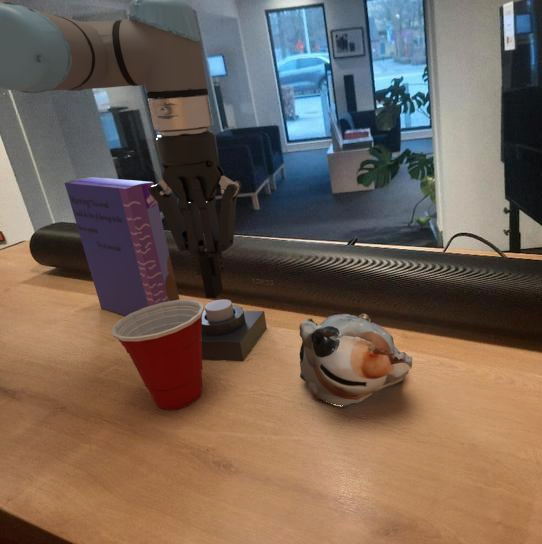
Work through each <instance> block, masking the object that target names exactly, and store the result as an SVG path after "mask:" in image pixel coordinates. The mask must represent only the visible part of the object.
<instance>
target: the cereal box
mask: <svg viewBox="0 0 542 544" xmlns="http://www.w3.org/2000/svg"><path fill="white" fill-rule="evenodd" d="M154 185H155V184H154V182H153V181H147V180H146V181H143V180H132V179H119V178H107V177H98V176H97V177H96V176H89V177H81V178H75V179H71V180H69V181H65V182H64V186H65V190H66V193H67V197H68V200H69V204H70V207H71V210H72V215H73V217H74V220H75V224H76V227H77V230H78V234H79V238H80V241H81V244H82V247H83V251H84V254H85V255H84V256H85V258H86V261H87V265H88V268H89V272H90V276H91V278H92V282H93V285H94V289H95V292H96V296H97V299H98V302H99V306H100V309H101V310H104V311H107V312H110V313H113V314H117V315H120V316H123V317H126V316H127V315H129V314H131V313H133V312H136V311H138V310H140V309H143V308H145V307H148V306H152V305H155V304H159V303H163V302H169V301H174V300H181V299H180V295H179V292H178V286H177V282H176V277H175V273H174V269H173V264H172V260H171V255H170V251H169V246H168V242H167V237H166V234H165V229H164V225H163V221H162V215H161V210H160V206H159V204H158V202H157V201H156V200H155V199H154V197H153V196H152V195H151V194H150V192H149V188H150V187H151V186H154Z"/></svg>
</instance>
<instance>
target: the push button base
mask: <svg viewBox="0 0 542 544" xmlns="http://www.w3.org/2000/svg"><path fill="white" fill-rule="evenodd" d="M232 306H233V312H234V316H233V317H231V318H229V319H227V320H223V321H218V322H212V321H208V320H207V316H206V311H205V309H204V311H203V314H202V323H201V326H202V331H201V340H202V361H222V360H226V361H225V362H244V361H245V360H246V358H247V357H248V356H249V355H250V353H251V352H252V350H253V349H254V347H255V346H256V345H257V343H258V342H259V340H260V339H261V338H262V336H263V335H264V334H265V332H266V330H267V329H268V326H267V320H266V315H265V314H266V313H265V311H264V310H244V309H243V307H242V306H239V305H237V304H232ZM262 334H263V335H262ZM259 338H260V339H259ZM257 341H258V342H257ZM252 348H253V349H252ZM247 355H248V356H247Z"/></svg>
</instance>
